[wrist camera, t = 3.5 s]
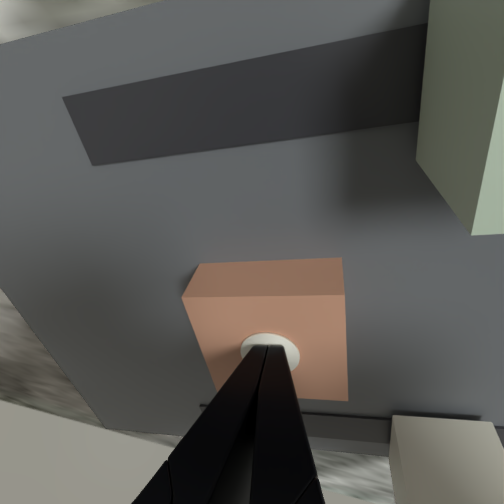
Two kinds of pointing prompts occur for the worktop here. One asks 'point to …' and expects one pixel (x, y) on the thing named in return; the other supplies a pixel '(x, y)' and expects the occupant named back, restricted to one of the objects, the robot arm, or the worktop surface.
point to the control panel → (241, 206)
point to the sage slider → (465, 110)
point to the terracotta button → (274, 319)
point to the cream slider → (445, 461)
